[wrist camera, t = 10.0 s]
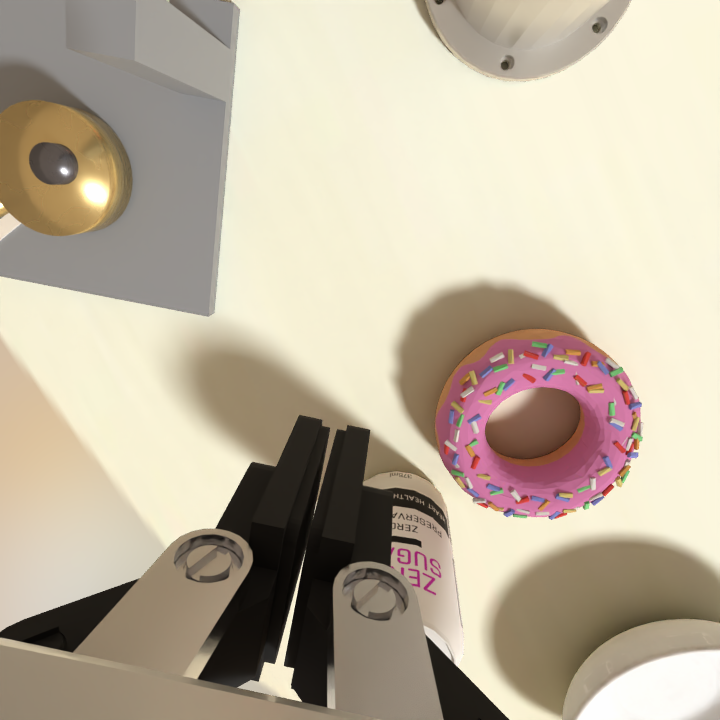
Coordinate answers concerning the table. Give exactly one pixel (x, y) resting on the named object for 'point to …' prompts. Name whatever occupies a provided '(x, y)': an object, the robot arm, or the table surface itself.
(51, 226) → the gold pan with handle
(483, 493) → the donut
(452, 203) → the table surface
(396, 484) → the white soda can
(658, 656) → the serving bowl
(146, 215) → the stand
